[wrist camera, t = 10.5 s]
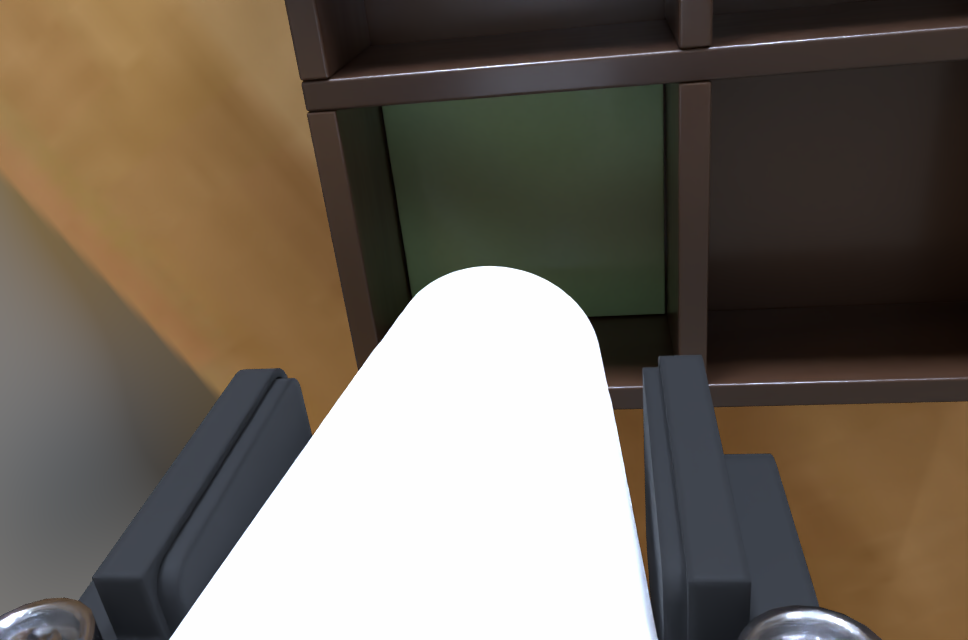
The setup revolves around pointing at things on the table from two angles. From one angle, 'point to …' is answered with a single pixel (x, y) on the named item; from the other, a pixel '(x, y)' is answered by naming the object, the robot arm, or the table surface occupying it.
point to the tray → (663, 178)
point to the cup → (451, 489)
